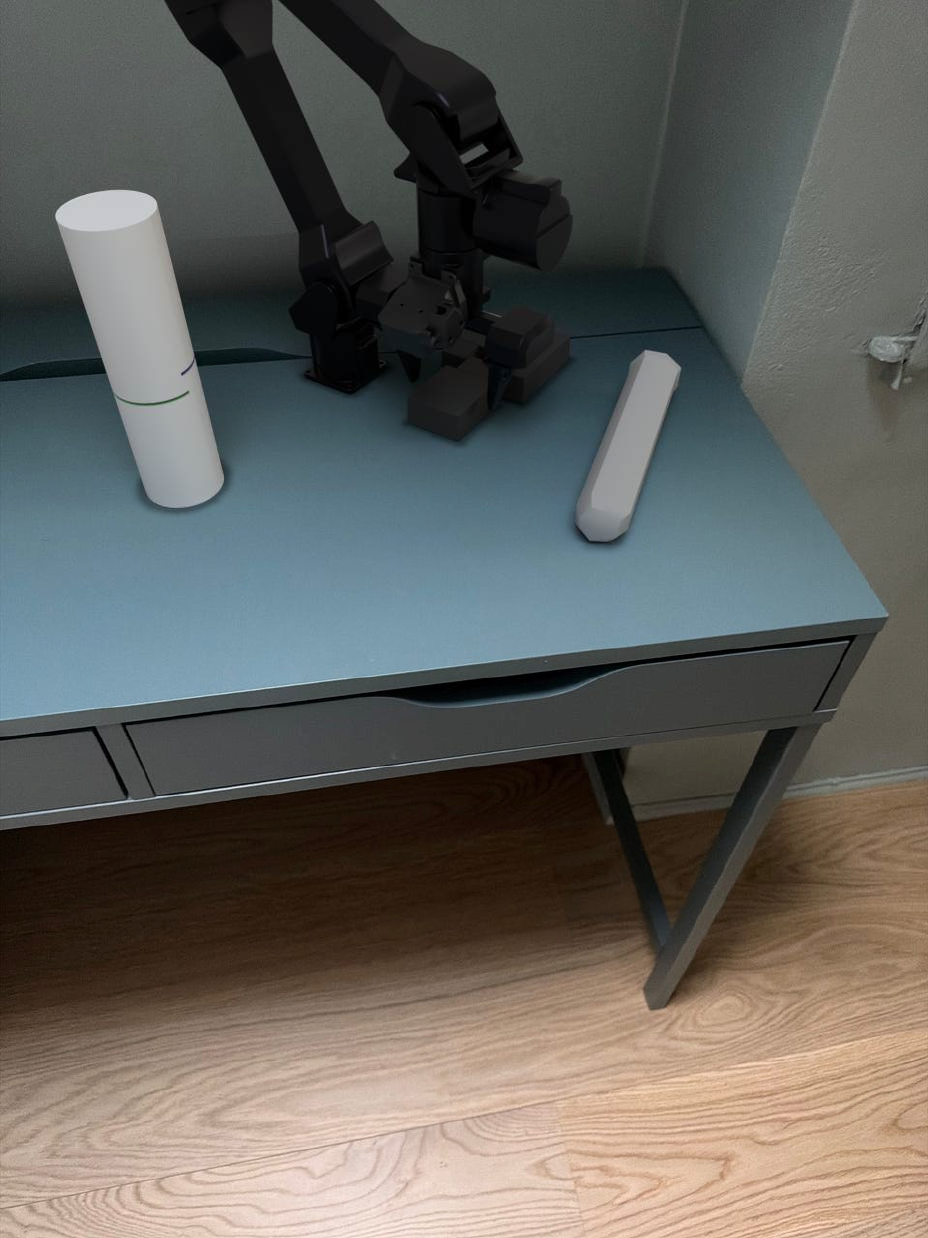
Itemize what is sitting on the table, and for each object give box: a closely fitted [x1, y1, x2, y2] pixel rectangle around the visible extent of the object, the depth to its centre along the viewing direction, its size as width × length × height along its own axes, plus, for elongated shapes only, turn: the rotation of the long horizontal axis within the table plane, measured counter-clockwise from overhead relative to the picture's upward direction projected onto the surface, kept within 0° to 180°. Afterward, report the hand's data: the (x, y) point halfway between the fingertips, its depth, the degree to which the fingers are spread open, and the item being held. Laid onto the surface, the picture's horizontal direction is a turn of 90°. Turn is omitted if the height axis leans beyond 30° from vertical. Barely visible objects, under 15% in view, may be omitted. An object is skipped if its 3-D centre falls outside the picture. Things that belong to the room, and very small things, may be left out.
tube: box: [574, 349, 682, 542], centre depth 84 cm, size 5×5×25 cm
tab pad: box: [406, 356, 492, 443], centre depth 91 cm, size 6×10×3 cm, turn 147°
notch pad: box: [440, 310, 572, 405], centre depth 96 cm, size 10×10×3 cm
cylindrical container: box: [54, 189, 225, 509], centre depth 74 cm, size 7×7×25 cm
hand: (452, 394), depth 89 cm, fingers open, 9 cm apart
